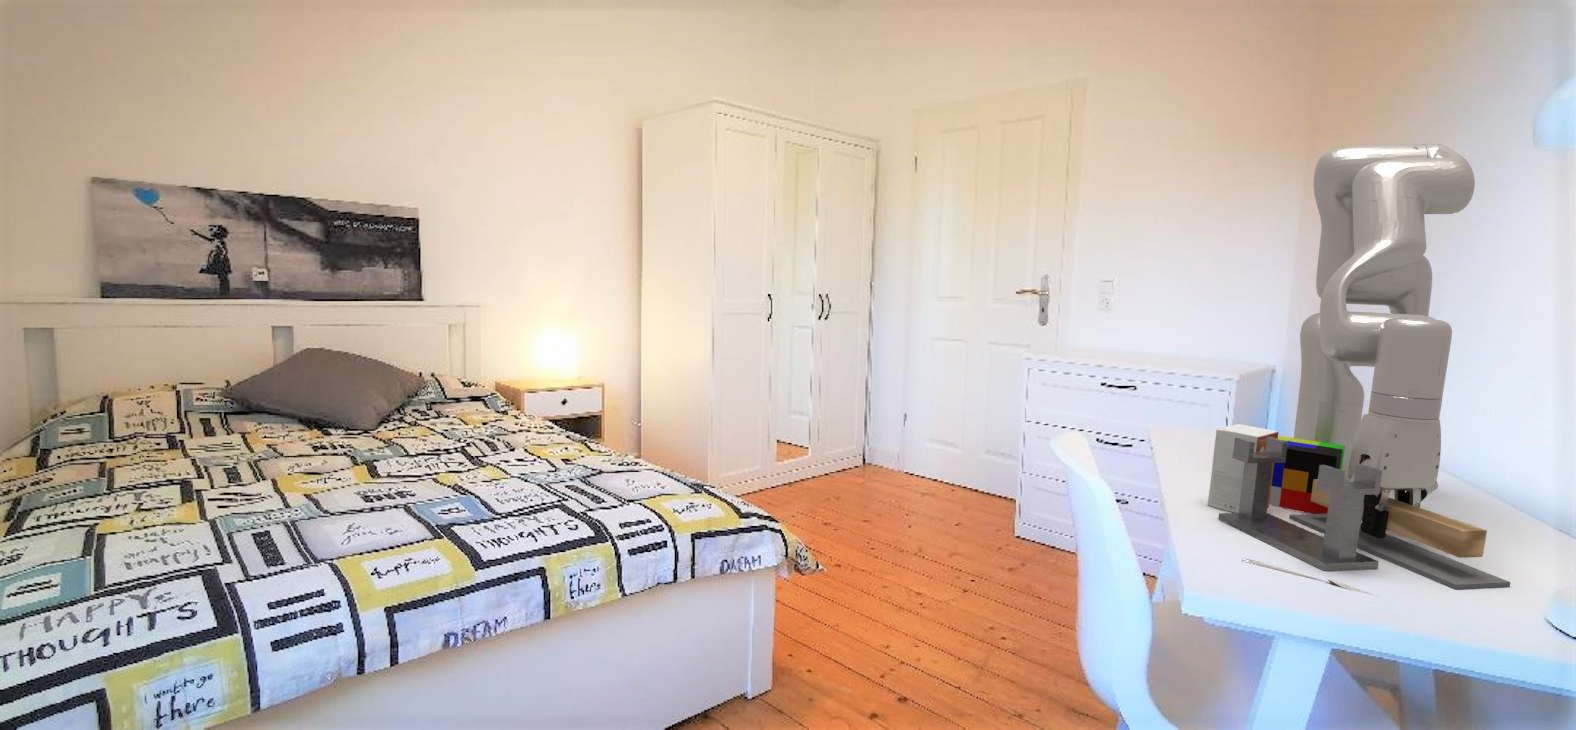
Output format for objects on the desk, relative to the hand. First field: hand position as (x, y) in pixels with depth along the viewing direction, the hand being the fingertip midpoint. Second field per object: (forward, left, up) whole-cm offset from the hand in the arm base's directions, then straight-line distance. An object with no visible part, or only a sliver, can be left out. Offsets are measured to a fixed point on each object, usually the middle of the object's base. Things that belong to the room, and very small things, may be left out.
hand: (1385, 533), depth 103 cm
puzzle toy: (-4, -19, -2) cm, 20 cm away
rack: (+12, -3, -2) cm, 13 cm away
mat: (0, 0, -2) cm, 2 cm away
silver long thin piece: (+19, +10, -3) cm, 21 cm away
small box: (+8, -18, -2) cm, 20 cm away
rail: (0, 0, +1) cm, 1 cm away
